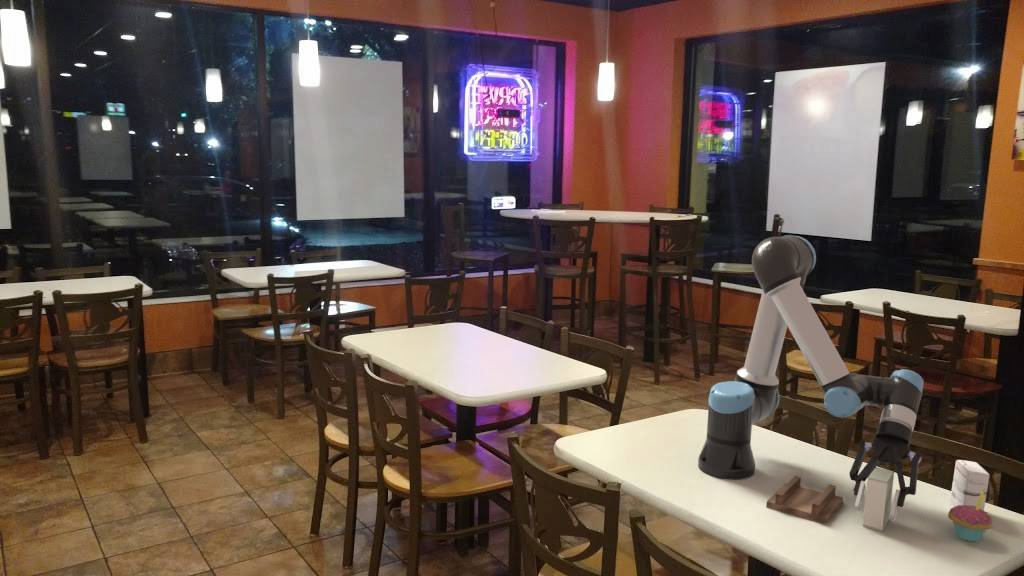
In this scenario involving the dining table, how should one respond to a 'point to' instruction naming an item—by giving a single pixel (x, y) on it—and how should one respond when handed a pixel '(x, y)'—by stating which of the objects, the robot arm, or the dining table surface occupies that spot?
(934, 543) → the dining table surface
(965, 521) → the cupcake
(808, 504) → the walnut rack
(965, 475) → the white rectangular block
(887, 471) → the sage box
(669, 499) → the dining table surface
